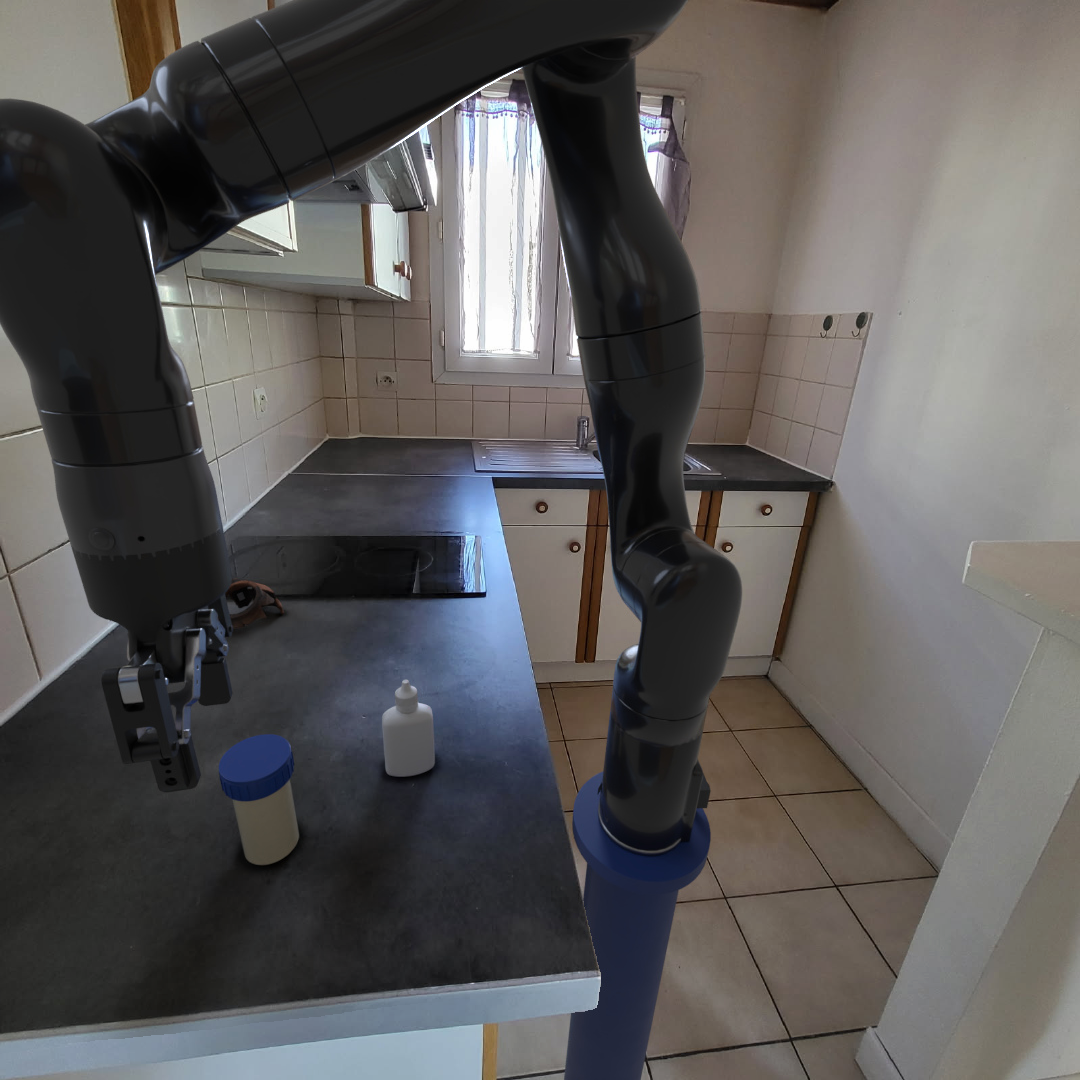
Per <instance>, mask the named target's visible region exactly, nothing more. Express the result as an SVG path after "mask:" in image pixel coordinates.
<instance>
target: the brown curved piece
mask: <svg viewBox="0 0 1080 1080" xmlns="http://www.w3.org/2000/svg"><path fill="white" fill-rule="evenodd" d="M225 596H226V598H229V599H230V600H231V601H233V602H234V605H236V606H237V607H238V608H237V609H243V608H245V609H244V610H242V611H239V612H237V613H229V614H230V619H231V623H232V626H233V630H235V629H243V628H244V627H246V626H249V625H251V624H252V623H254V622H255V621H257V620H259V619H266V618H267V616H266V614H265V612H264V610H263V608H266V607H275V608H277V609H278V610H279V612H280V614H281V615H284V614H285V611H284V608H283V604H282V602H281V601H280V600H279V598H277V595H276V593H275V591H274V590H273V589H272V588H270V587H269V586H268V585H265V584H262V583H258V582H255V581H252V580H247V579H246V580H241V579H240V578H238V577H232V582H231V585H230V587H229V589H228V590H227V592H226V593H225ZM250 603H251V604H250Z"/></svg>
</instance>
